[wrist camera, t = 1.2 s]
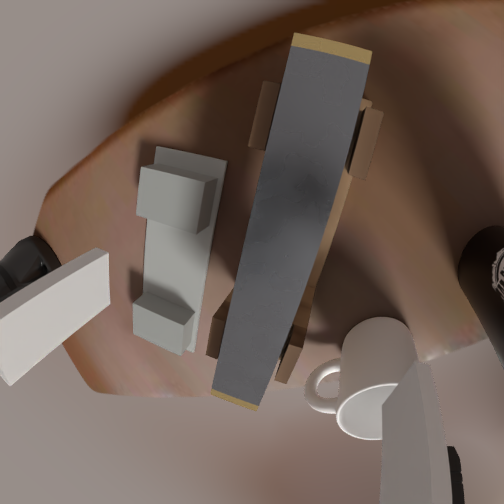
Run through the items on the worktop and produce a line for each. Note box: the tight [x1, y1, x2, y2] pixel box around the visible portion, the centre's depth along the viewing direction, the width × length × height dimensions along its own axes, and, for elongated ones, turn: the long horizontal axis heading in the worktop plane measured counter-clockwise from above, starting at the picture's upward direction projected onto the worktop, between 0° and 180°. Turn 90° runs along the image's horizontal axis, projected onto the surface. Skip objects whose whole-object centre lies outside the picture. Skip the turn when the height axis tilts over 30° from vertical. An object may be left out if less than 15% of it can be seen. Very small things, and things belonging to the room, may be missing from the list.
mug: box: [304, 317, 419, 440], centre depth 26 cm, size 12×8×10 cm
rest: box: [133, 146, 228, 356], centre depth 32 cm, size 8×24×3 cm, turn 167°
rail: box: [211, 33, 372, 411], centre depth 19 cm, size 26×4×4 cm, turn 167°
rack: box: [206, 80, 384, 384], centre depth 23 cm, size 7×24×10 cm, turn 167°
